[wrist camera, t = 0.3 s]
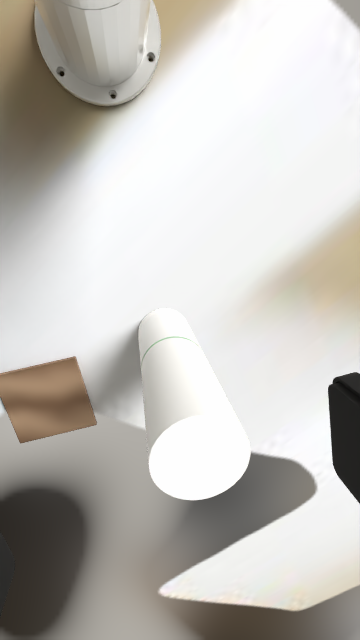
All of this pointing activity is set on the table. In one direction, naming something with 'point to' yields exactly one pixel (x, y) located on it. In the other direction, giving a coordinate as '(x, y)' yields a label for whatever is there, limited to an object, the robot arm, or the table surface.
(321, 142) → the table surface
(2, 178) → the table surface
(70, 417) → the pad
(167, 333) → the cylindrical container
